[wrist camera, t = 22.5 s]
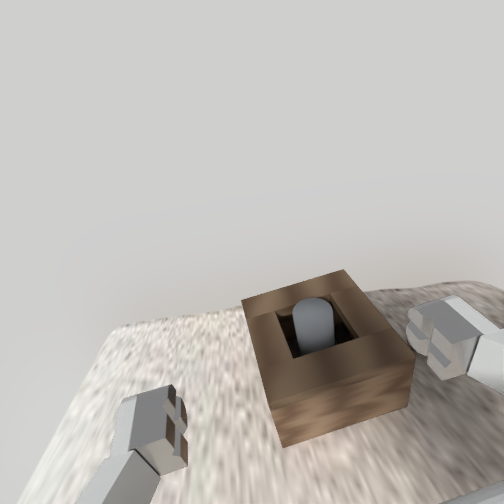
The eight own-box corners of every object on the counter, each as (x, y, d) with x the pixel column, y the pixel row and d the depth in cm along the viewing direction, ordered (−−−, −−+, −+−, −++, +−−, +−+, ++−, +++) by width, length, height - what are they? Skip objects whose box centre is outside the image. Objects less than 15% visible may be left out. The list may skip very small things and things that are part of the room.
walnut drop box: (345, 315, 49) (343, 269, 43) (407, 406, 35) (415, 355, 30) (254, 343, 48) (241, 300, 42) (282, 448, 34) (268, 403, 29)
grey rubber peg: (328, 351, 44) (322, 293, 37) (343, 379, 39) (339, 319, 33) (298, 361, 43) (287, 304, 37) (310, 390, 39) (300, 332, 33)
